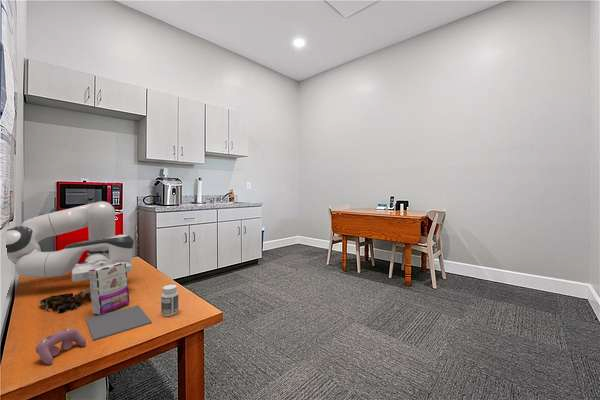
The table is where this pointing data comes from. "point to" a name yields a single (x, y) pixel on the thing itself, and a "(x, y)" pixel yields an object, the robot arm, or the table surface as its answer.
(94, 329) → the mat
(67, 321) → the table surface
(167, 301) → the pill bottle
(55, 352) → the video game controller
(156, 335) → the table surface
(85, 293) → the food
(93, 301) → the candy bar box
